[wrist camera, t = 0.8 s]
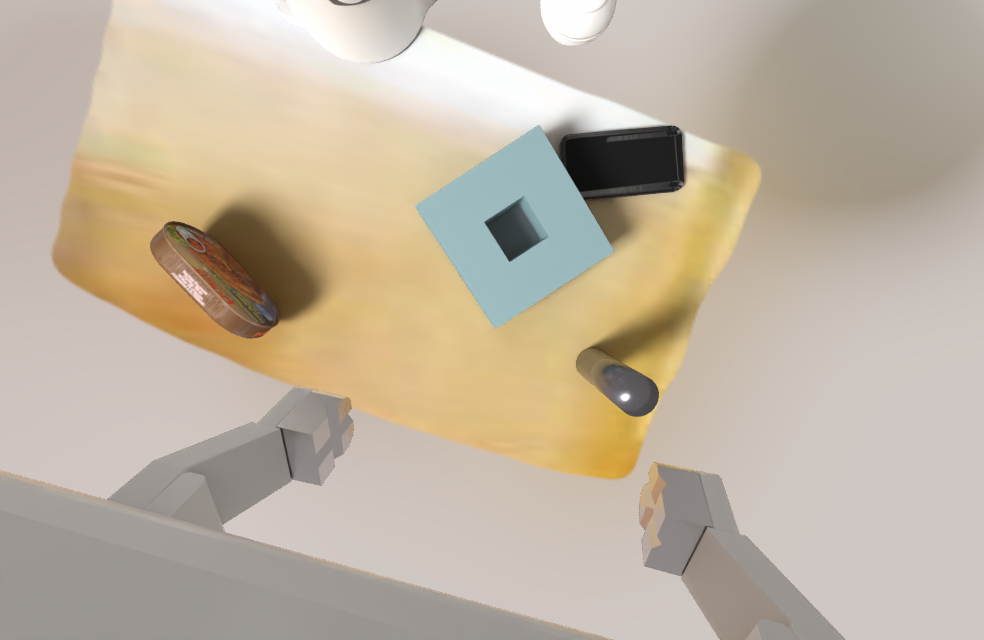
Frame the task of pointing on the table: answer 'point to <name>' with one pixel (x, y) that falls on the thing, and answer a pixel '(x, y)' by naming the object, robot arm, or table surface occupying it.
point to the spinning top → (576, 19)
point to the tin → (214, 280)
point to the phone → (624, 162)
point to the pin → (618, 382)
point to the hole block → (515, 227)
